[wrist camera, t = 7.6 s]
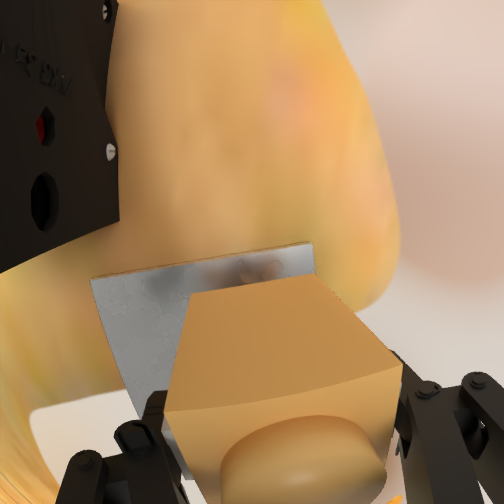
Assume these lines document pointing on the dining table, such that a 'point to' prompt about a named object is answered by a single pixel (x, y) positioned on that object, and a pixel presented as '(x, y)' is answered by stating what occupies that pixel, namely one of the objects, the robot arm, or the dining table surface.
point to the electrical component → (54, 125)
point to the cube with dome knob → (282, 396)
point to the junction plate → (176, 307)
